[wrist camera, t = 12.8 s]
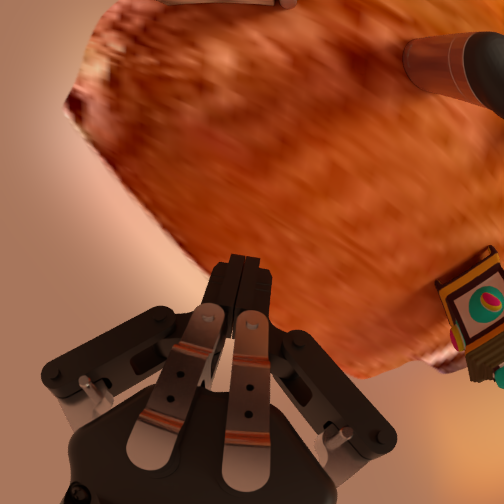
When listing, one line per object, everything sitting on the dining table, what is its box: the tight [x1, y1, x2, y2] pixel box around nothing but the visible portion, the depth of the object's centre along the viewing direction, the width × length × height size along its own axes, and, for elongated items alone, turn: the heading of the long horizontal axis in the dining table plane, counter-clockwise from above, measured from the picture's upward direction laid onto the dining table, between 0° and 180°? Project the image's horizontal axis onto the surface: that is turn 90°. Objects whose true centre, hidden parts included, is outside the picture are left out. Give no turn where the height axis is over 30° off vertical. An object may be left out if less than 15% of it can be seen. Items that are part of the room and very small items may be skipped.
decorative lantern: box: [435, 245, 504, 389], centre depth 40 cm, size 20×20×30 cm
